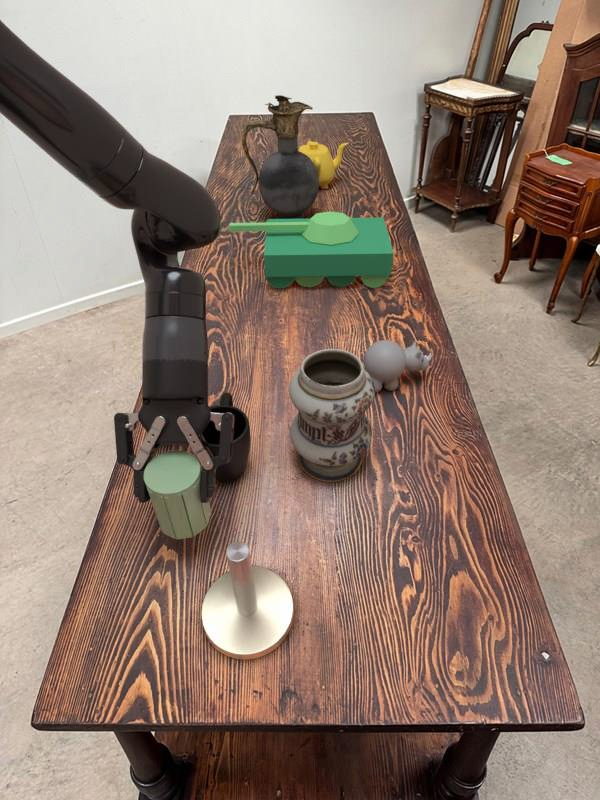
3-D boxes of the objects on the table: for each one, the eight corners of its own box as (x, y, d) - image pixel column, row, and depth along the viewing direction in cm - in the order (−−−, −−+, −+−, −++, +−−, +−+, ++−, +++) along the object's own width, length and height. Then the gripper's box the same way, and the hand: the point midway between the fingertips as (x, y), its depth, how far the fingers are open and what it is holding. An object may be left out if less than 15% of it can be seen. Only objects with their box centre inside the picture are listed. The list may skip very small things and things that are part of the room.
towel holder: (222, 678, 60) (205, 621, 50) (190, 595, 67) (170, 531, 57) (309, 632, 63) (309, 571, 54) (270, 558, 71) (263, 492, 61)
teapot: (322, 197, 155) (322, 154, 147) (282, 186, 161) (280, 145, 153) (347, 182, 163) (349, 140, 155) (308, 172, 169) (308, 132, 161)
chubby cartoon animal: (433, 392, 94) (441, 353, 88) (366, 397, 93) (369, 359, 87) (422, 365, 99) (429, 327, 93) (358, 371, 98) (361, 333, 92)
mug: (259, 431, 87) (255, 387, 81) (250, 491, 79) (245, 447, 72) (209, 430, 88) (201, 386, 81) (194, 489, 79) (184, 445, 72)
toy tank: (232, 203, 123) (385, 201, 123) (237, 253, 132) (380, 251, 131) (224, 239, 110) (395, 236, 110) (230, 291, 119) (389, 289, 118)
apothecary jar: (331, 418, 89) (334, 329, 77) (385, 459, 83) (398, 368, 70) (275, 455, 84) (268, 365, 71) (328, 502, 77) (331, 412, 65)
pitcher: (321, 224, 142) (322, 98, 122) (248, 228, 141) (237, 102, 121) (316, 207, 150) (317, 86, 130) (248, 211, 149) (237, 89, 129)
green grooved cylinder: (167, 547, 64) (152, 502, 58) (152, 507, 69) (136, 461, 63) (218, 526, 66) (208, 480, 60) (200, 488, 71) (189, 442, 65)
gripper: (102, 356, 60) (101, 507, 59) (231, 355, 59) (231, 507, 59) (126, 363, 67) (125, 497, 67) (240, 362, 67) (240, 497, 66)
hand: (175, 501), depth 63 cm, fingers closed on green grooved cylinder, 6 cm apart
